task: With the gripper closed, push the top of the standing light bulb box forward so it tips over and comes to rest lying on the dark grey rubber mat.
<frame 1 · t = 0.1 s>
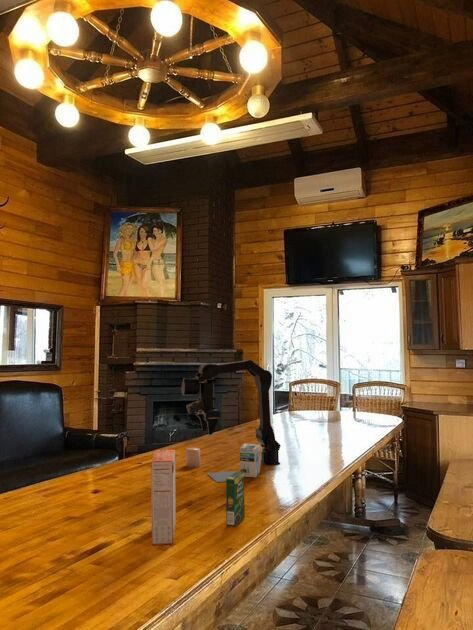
hand: (207, 432, 199), 15 cm above the table, tool pointing down, fingers open, 9 cm apart
pink rounded capsule: (192, 465, 205), on the table
light bulb box: (249, 474, 190), on the table, touching mat
mat: (225, 477, 186), on the table
cracker box: (163, 535, 129), on the table
coffee box: (235, 522, 138), on the table
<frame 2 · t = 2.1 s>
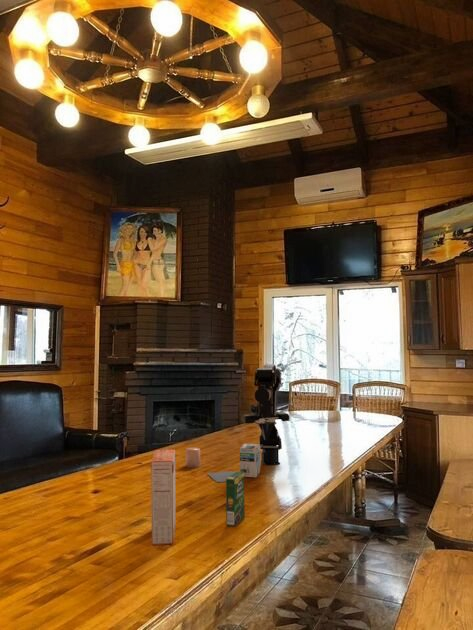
hand: (265, 439, 193), 13 cm above the table, tool pointing down, fingers closed
nothing on the table moved.
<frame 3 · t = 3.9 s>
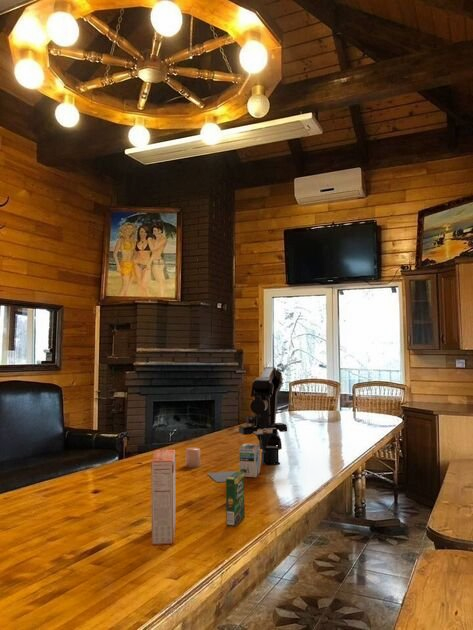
hand: (263, 450, 193), 9 cm above the table, tool pointing down, fingers closed
light bulb box: (249, 474, 190), on the table, touching gripper, mat
everything else where it was.
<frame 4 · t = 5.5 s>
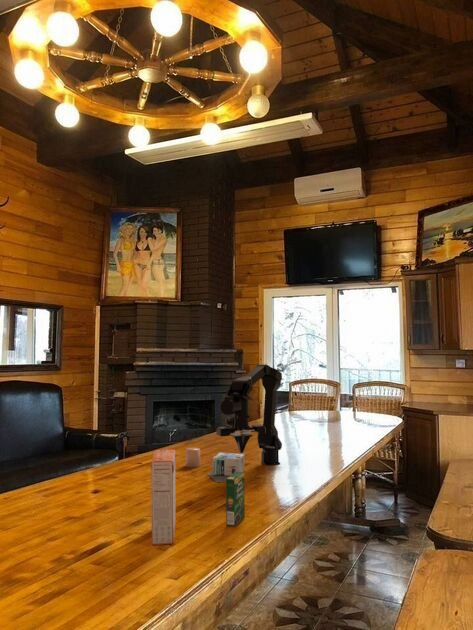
hand: (241, 452, 189), 9 cm above the table, tool pointing down, fingers closed
light bulb box: (242, 465, 191), point 3 cm above the table, touching mat
everything else where it was.
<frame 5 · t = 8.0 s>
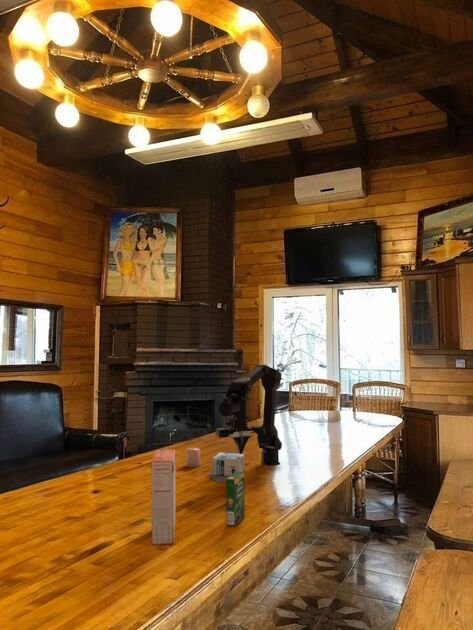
hand: (240, 453, 189), 8 cm above the table, tool pointing down, fingers closed
nothing on the table moved.
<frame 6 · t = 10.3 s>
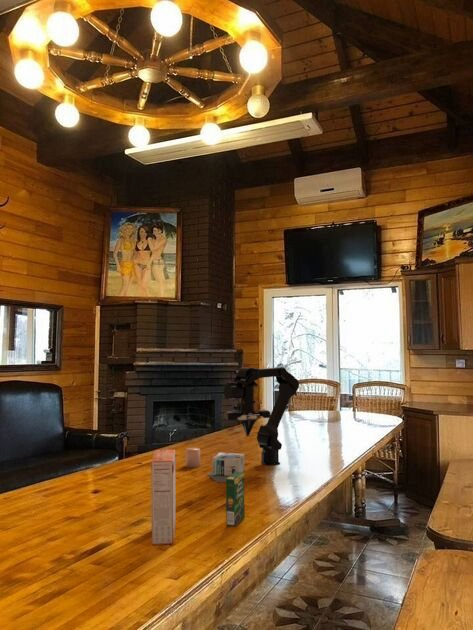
hand: (247, 435, 201), 13 cm above the table, tool pointing down, fingers closed
nothing on the table moved.
at the end: light bulb box tilted 89°; light bulb box inside the target area (6.6 cm from its centre), point 3.5 cm above the table; light bulb box moved 4.5 cm from its start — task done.
